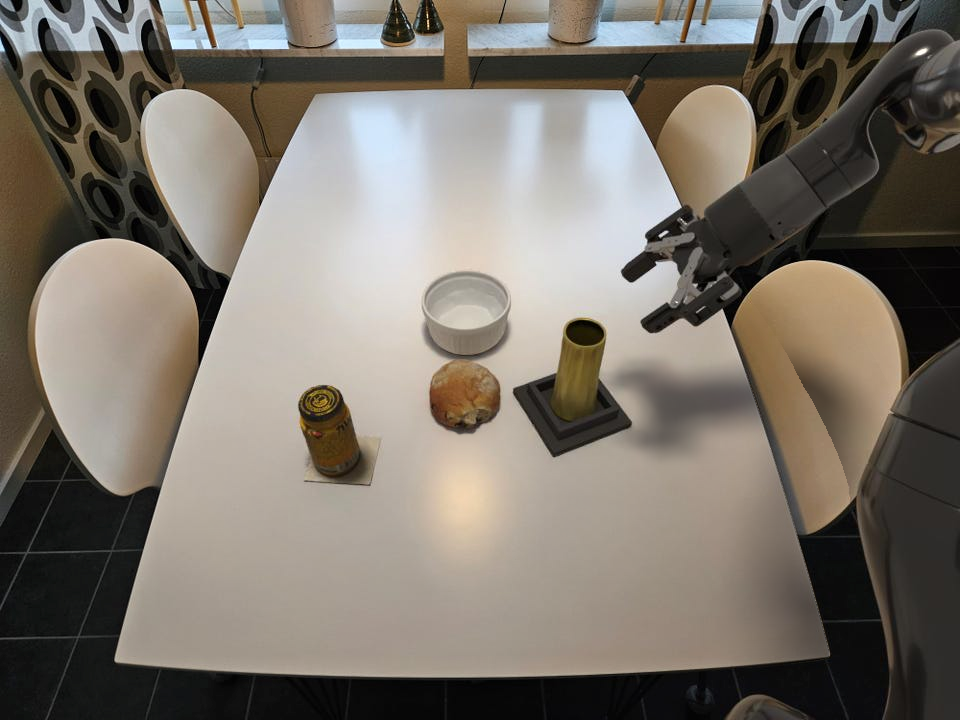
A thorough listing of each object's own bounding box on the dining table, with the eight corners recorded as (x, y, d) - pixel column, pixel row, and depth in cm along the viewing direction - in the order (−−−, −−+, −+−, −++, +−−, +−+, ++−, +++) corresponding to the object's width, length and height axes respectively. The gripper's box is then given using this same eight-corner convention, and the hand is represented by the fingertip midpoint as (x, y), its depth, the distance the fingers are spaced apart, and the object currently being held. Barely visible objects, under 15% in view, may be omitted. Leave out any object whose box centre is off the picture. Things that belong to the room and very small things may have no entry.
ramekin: (414, 312, 103) (410, 279, 97) (492, 294, 105) (493, 260, 100) (438, 371, 94) (435, 338, 89) (522, 349, 97) (524, 316, 92)
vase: (603, 413, 88) (620, 340, 77) (564, 428, 86) (575, 356, 75) (580, 382, 91) (593, 308, 81) (542, 396, 90) (550, 323, 79)
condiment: (318, 434, 87) (299, 376, 78) (381, 438, 86) (369, 380, 77) (304, 481, 82) (282, 424, 73) (370, 486, 81) (356, 429, 72)
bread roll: (504, 409, 94) (512, 359, 91) (485, 442, 85) (493, 388, 82) (440, 393, 96) (446, 344, 93) (415, 424, 87) (420, 370, 84)
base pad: (631, 426, 87) (635, 413, 85) (553, 457, 84) (555, 444, 82) (586, 366, 95) (588, 352, 93) (512, 392, 91) (513, 378, 89)
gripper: (720, 152, 69) (600, 246, 76) (776, 232, 59) (632, 331, 67) (753, 192, 73) (636, 277, 81) (810, 273, 63) (671, 361, 71)
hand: (634, 302), depth 74 cm, fingers open, 8 cm apart
